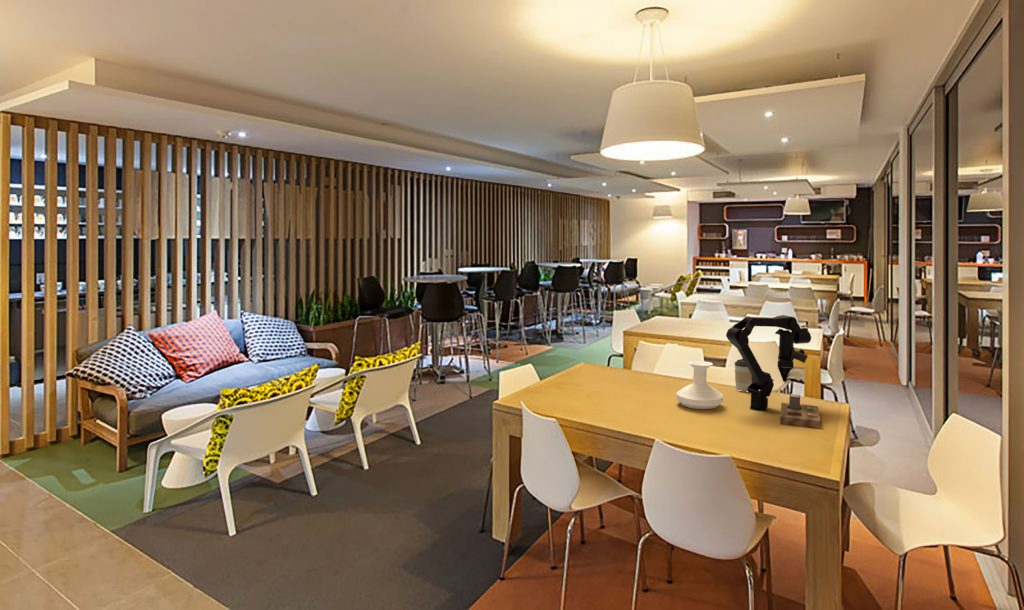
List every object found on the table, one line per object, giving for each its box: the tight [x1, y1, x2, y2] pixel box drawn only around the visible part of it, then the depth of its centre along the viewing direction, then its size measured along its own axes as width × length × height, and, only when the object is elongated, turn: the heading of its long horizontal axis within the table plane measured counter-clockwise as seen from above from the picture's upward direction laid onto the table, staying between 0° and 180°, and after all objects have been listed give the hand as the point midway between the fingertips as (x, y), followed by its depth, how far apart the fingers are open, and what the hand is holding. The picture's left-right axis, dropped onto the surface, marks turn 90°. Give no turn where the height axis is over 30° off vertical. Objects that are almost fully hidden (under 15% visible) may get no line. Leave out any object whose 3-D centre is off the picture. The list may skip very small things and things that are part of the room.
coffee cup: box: [734, 358, 752, 391], centre depth 287 cm, size 9×9×15 cm
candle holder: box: [676, 360, 724, 410], centre depth 261 cm, size 20×20×19 cm
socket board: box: [780, 402, 821, 429], centre depth 243 cm, size 14×22×4 cm, turn 155°
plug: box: [788, 393, 801, 410], centre depth 248 cm, size 4×4×8 cm
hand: (784, 379), depth 259 cm, fingers open, 9 cm apart
